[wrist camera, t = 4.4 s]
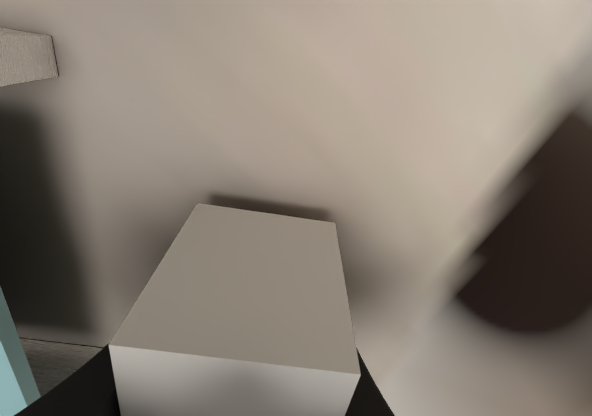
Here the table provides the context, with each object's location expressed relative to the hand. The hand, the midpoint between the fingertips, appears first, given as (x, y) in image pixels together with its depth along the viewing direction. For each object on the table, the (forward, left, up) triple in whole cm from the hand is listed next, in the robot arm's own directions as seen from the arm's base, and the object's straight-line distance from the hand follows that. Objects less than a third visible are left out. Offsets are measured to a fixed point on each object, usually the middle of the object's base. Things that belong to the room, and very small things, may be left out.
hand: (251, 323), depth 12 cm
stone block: (0, 0, -2) cm, 2 cm away
